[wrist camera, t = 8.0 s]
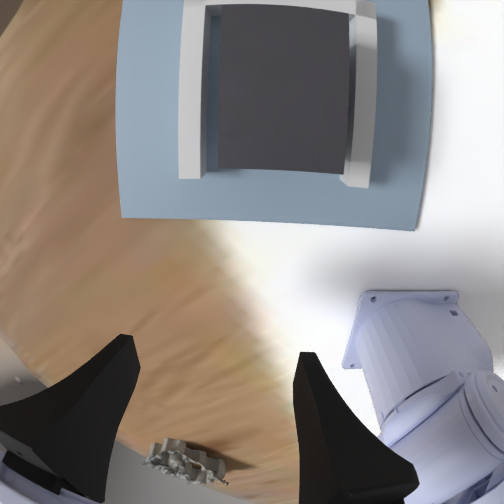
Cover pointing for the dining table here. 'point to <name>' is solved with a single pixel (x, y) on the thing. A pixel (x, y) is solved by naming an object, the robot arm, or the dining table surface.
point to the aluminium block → (283, 88)
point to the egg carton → (185, 463)
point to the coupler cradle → (270, 181)
